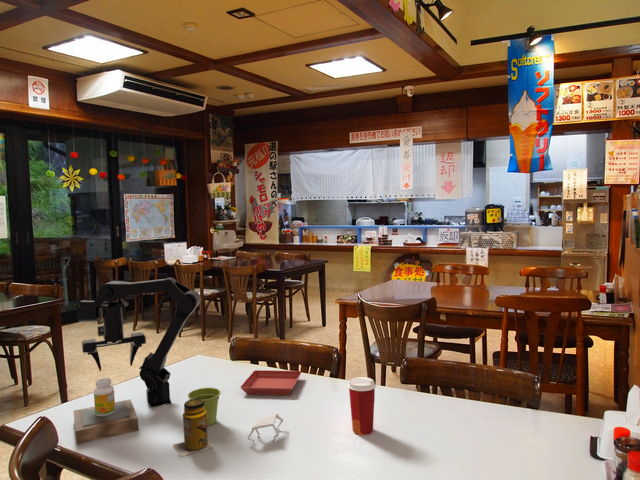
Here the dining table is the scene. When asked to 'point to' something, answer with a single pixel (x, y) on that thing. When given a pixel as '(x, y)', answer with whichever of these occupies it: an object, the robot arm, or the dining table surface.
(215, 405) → the plant pot
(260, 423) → the miniature table
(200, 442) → the condiment
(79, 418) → the framed mirror
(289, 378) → the plant saucer
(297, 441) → the dining table surface
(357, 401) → the paper cup
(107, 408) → the supplement bottle
